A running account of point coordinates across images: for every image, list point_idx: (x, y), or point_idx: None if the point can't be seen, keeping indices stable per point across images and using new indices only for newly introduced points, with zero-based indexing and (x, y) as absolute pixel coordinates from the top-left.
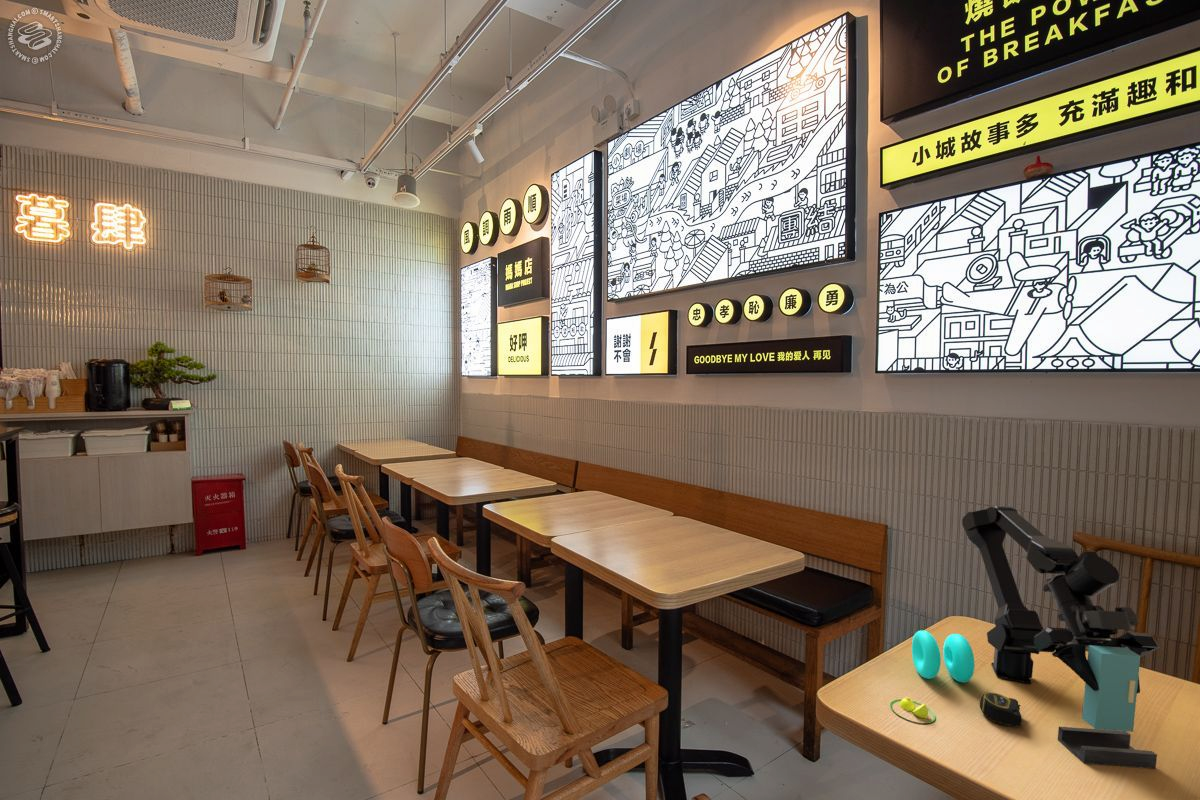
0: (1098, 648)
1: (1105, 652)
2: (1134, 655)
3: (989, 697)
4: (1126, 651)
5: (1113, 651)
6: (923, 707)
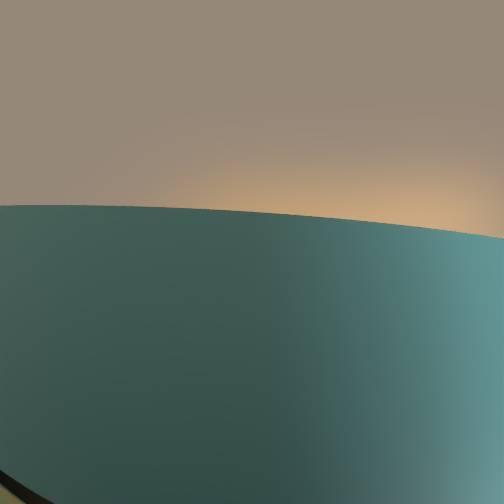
0: (497, 442)
1: (500, 281)
2: (41, 211)
3: None
4: (24, 345)
5: (305, 353)
6: None
